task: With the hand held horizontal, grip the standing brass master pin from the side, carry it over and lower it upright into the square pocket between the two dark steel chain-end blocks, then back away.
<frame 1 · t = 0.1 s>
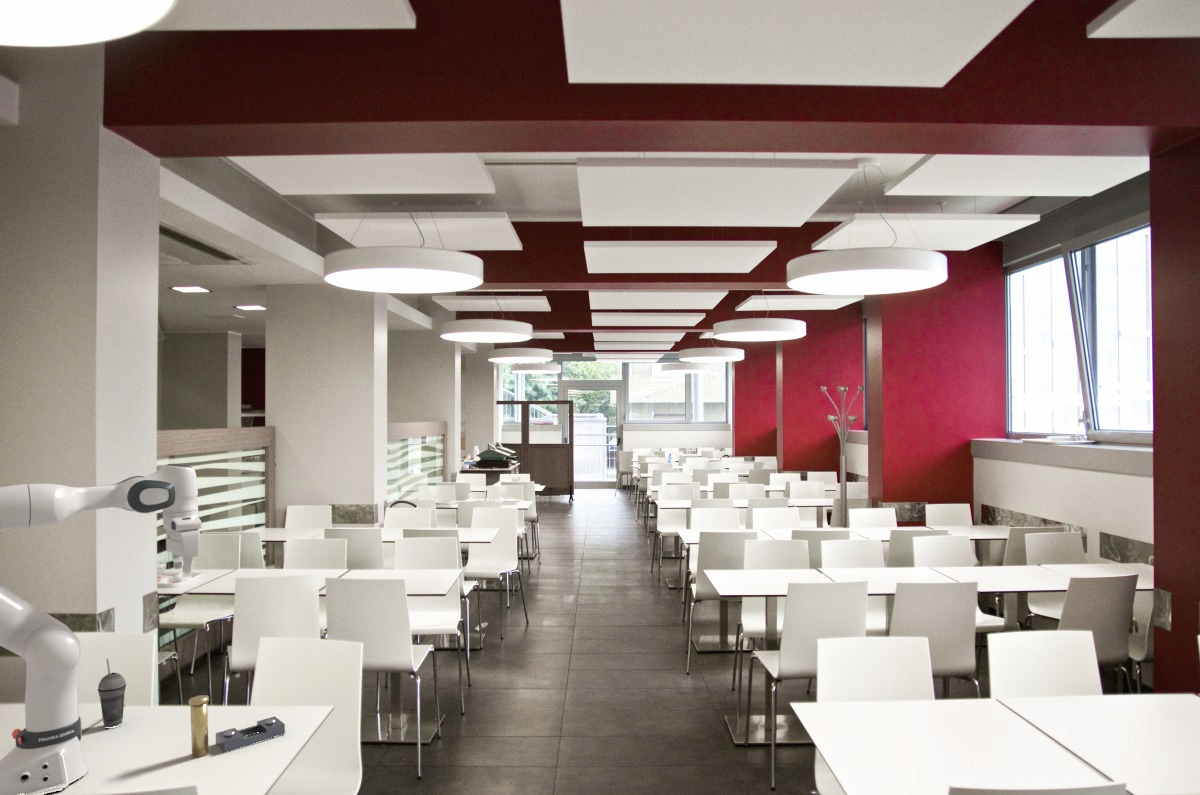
hand: (182, 570, 217), 48 cm above the table, tool pointing down, fingers open, 8 cm apart
beverage cup: (113, 726, 230), on the table
master pin: (200, 754, 208), on the table
chain ends: (250, 739, 217), on the table
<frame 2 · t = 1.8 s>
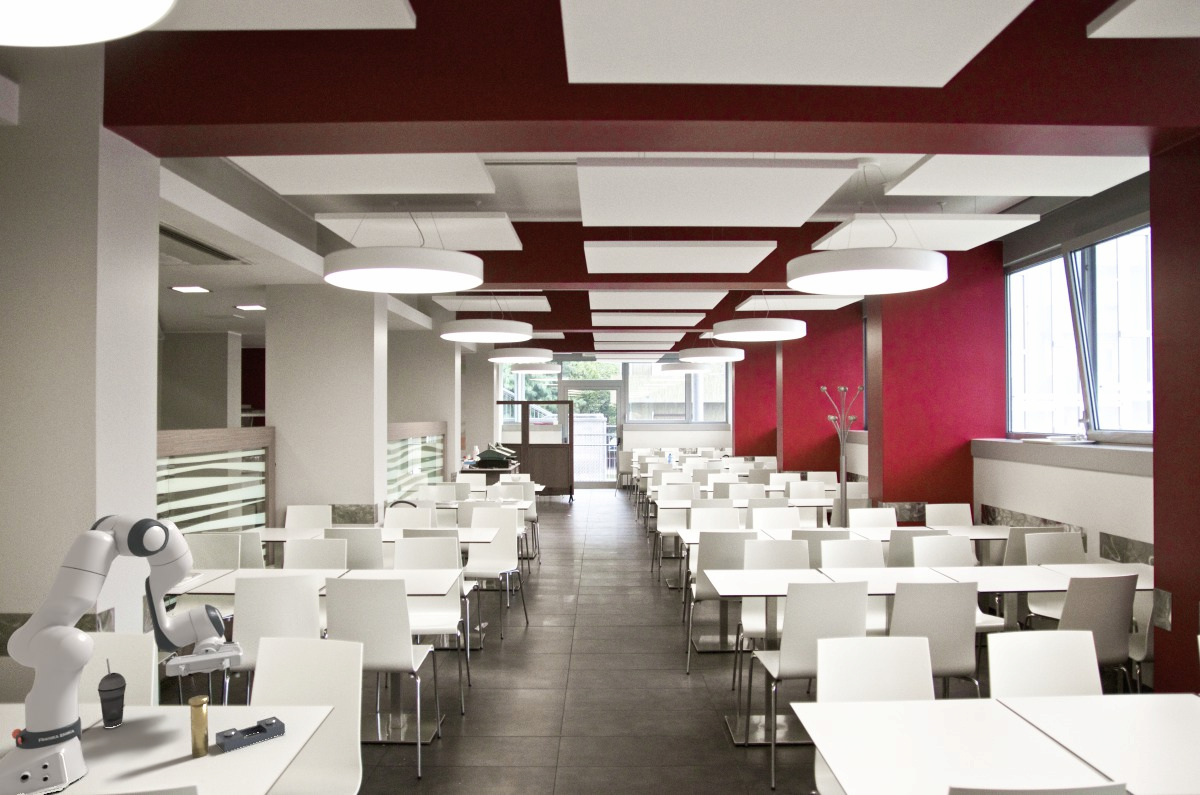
hand: (203, 670, 220), 19 cm above the table, tool horizontal, fingers open, 8 cm apart
nothing on the table moved.
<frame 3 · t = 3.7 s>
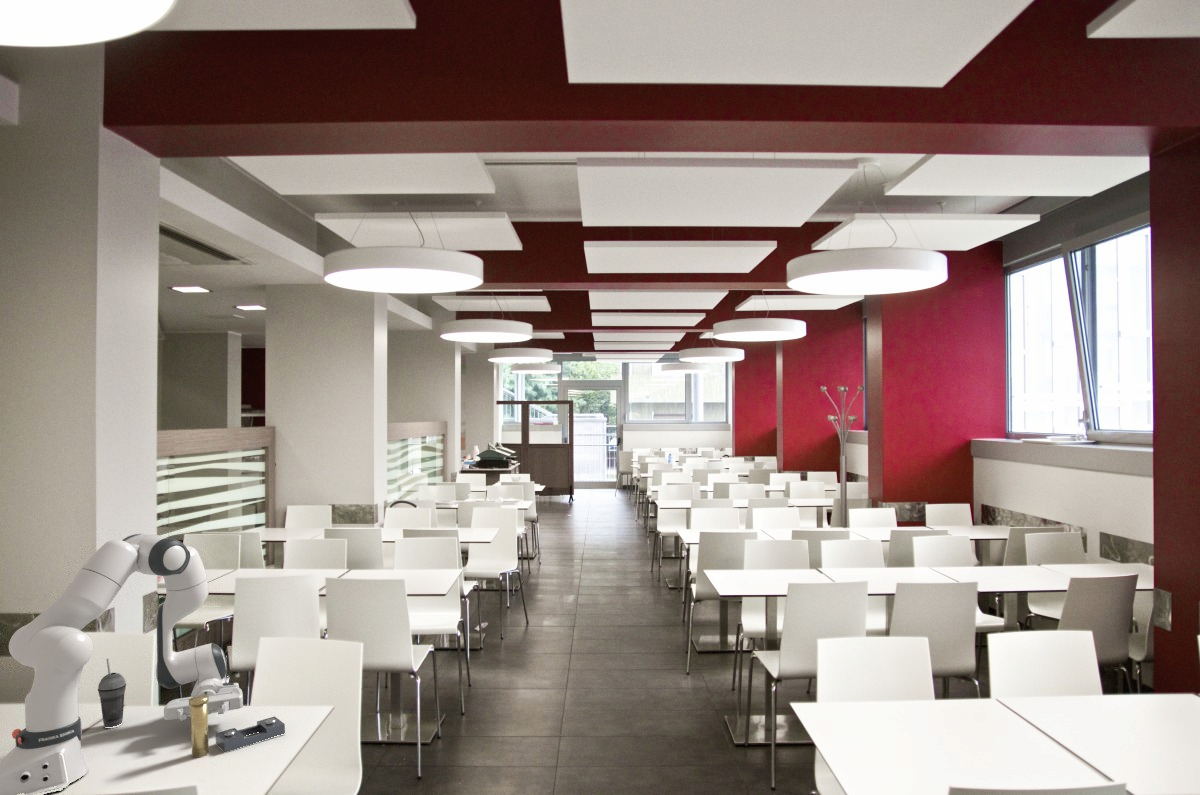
hand: (202, 714, 216), 8 cm above the table, tool horizontal, fingers open, 8 cm apart
nothing on the table moved.
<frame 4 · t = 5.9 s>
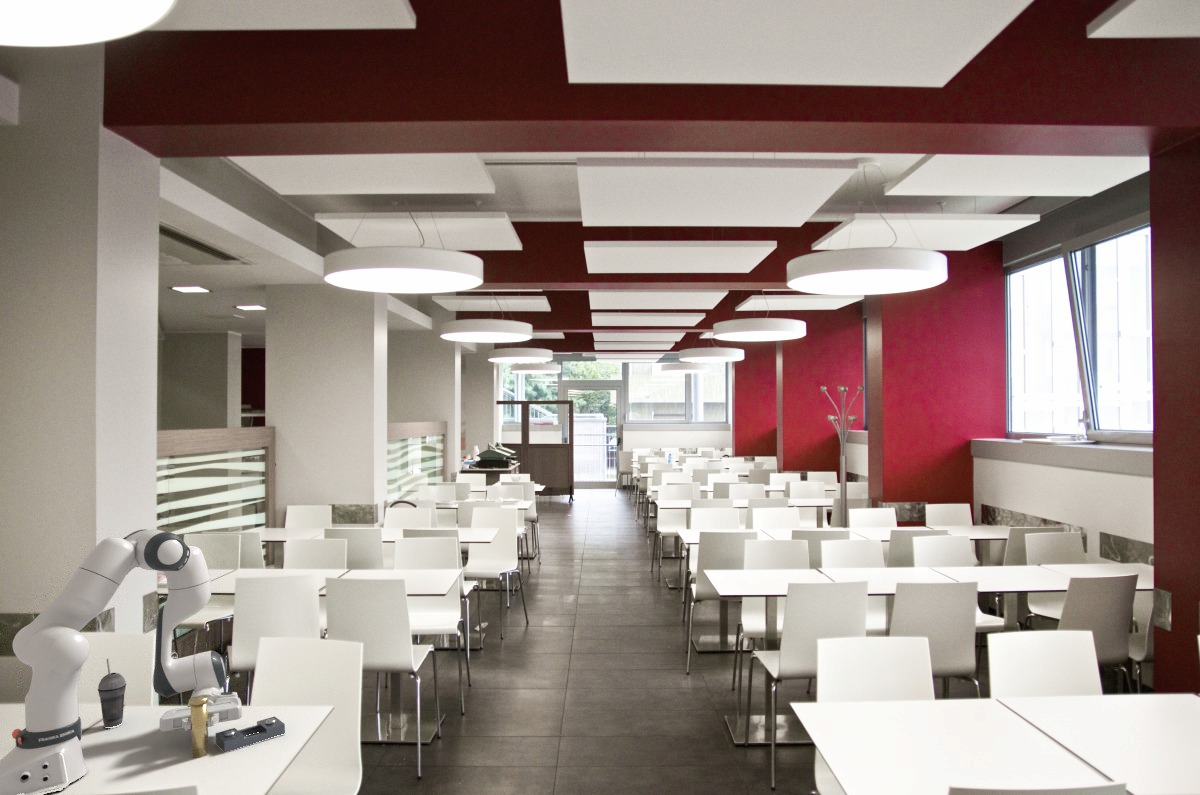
hand: (199, 725, 207), 8 cm above the table, tool horizontal, fingers closed on master pin, 4 cm apart
master pin: (200, 754, 208), on the table, touching gripper
everything else where it was.
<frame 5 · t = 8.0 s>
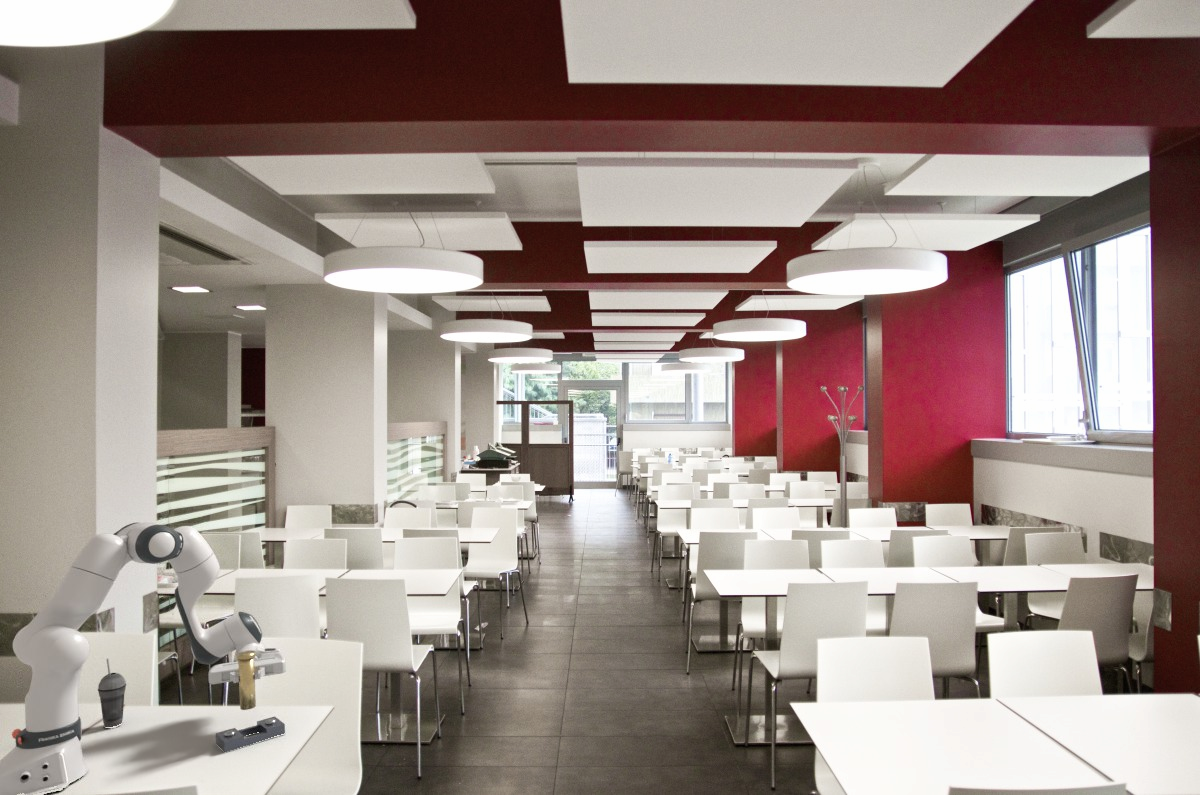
hand: (246, 678, 216), 17 cm above the table, tool horizontal, fingers closed on master pin, 4 cm apart
master pin: (248, 707, 217), point 9 cm above the table, touching gripper
everything else where it was.
when the fingers open (9 cm above the table, at t = 10.2 s): master pin stays where it is, resting in chain ends.
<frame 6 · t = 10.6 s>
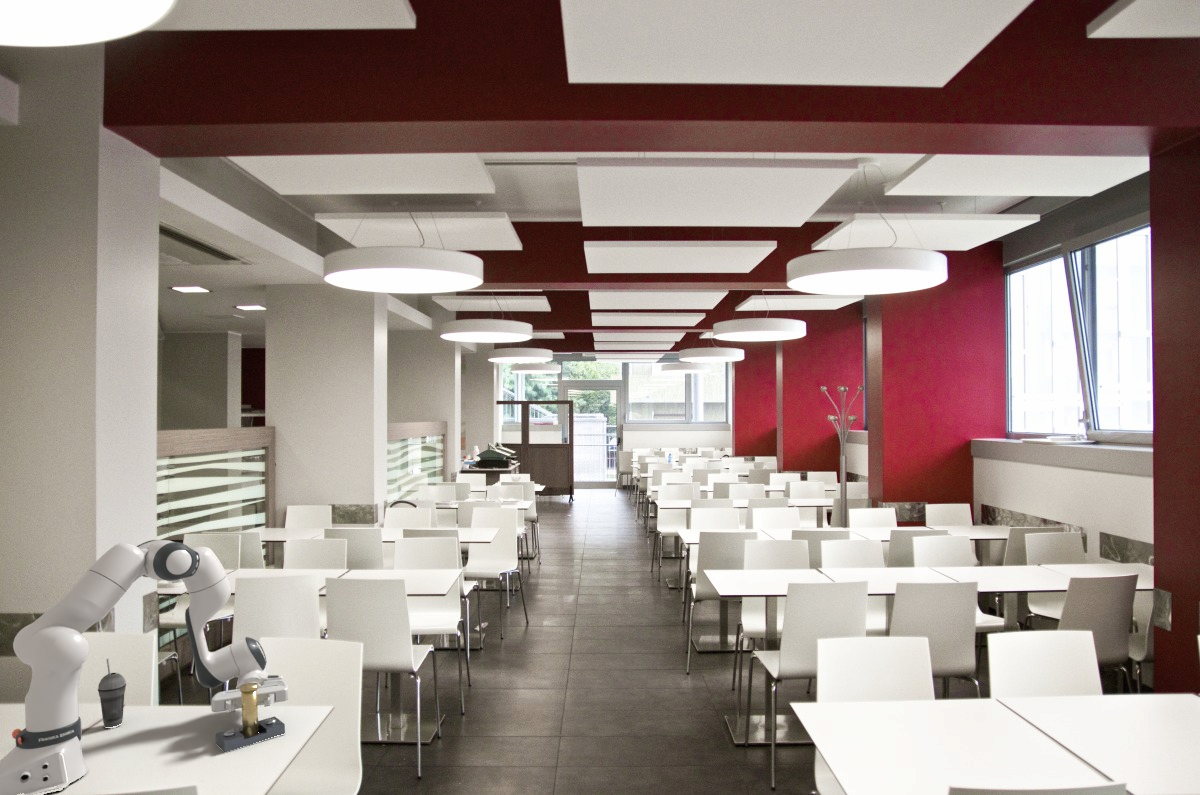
hand: (249, 706, 216), 9 cm above the table, tool horizontal, fingers open, 8 cm apart
master pin: (250, 739, 217), resting in chain ends
everything else where it was.
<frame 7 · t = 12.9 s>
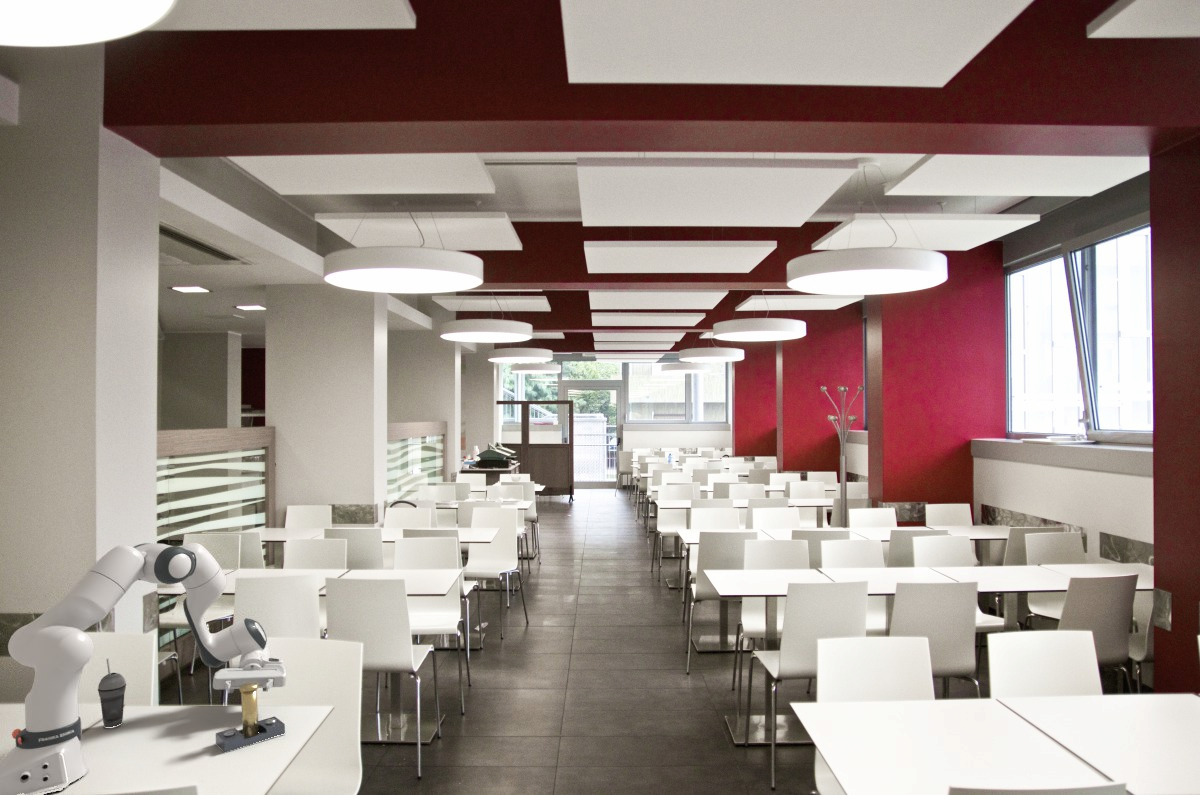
hand: (247, 689, 227), 10 cm above the table, tool horizontal, fingers open, 8 cm apart
nothing on the table moved.
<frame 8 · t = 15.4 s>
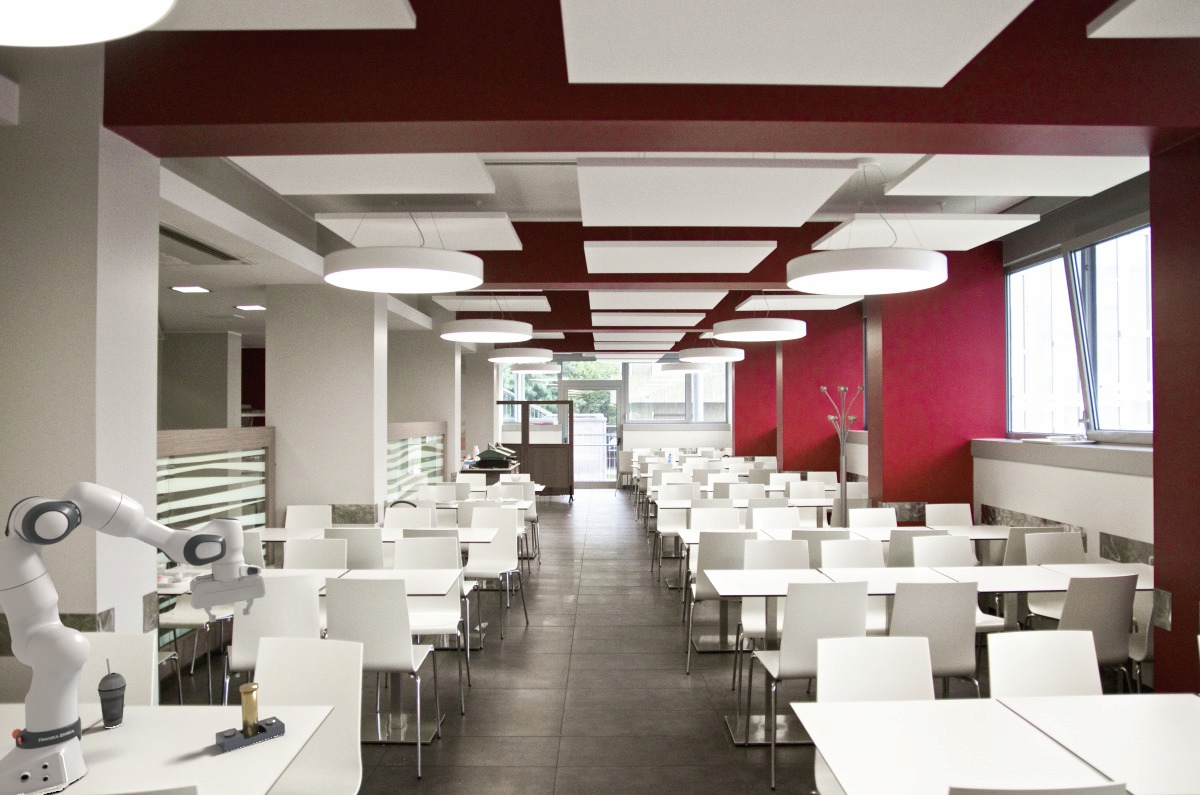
hand: (229, 618, 229), 31 cm above the table, tool pointing down, fingers open, 8 cm apart
nothing on the table moved.
at the end: master pin 0.1 cm off-centre on the chain ends, point 0.0 cm above the chain ends's base; master pin tilted 0°; the gripper is holding nothing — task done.
